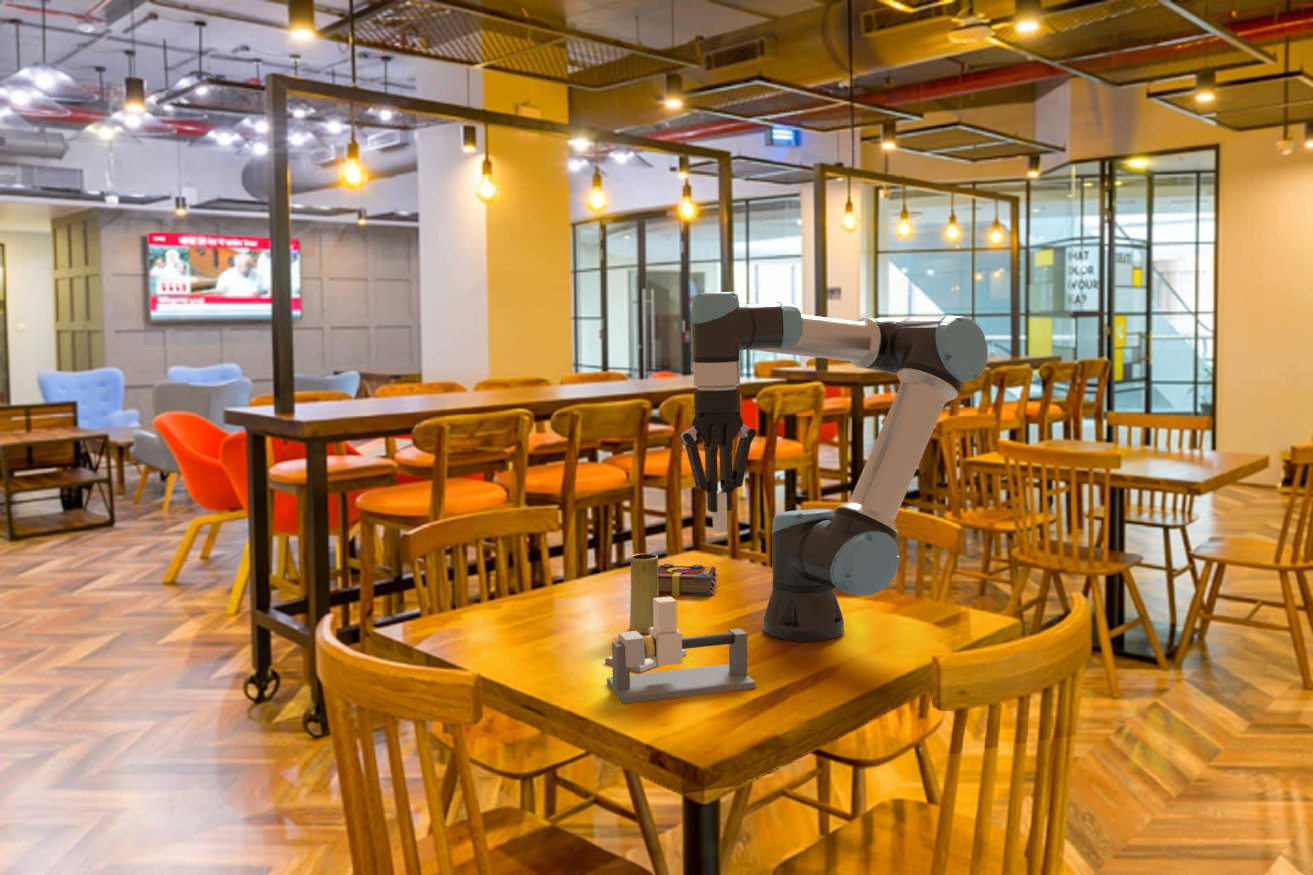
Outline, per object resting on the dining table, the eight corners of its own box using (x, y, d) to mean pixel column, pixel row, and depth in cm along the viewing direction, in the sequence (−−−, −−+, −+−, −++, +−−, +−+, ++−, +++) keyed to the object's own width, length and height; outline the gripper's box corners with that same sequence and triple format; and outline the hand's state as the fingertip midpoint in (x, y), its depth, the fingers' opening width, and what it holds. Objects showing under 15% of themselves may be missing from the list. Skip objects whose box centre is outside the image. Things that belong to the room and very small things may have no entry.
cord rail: (732, 669, 186) (732, 616, 185) (755, 687, 177) (755, 631, 176) (607, 683, 180) (606, 628, 179) (623, 703, 170) (622, 645, 169)
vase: (667, 628, 211) (666, 555, 209) (645, 635, 206) (644, 561, 205) (644, 623, 215) (643, 551, 213) (622, 629, 210) (621, 556, 209)
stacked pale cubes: (672, 654, 180) (672, 594, 179) (682, 663, 175) (681, 601, 174) (649, 657, 179) (648, 596, 178) (658, 665, 174) (657, 604, 173)
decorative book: (650, 583, 248) (650, 561, 248) (721, 585, 246) (721, 563, 245) (641, 595, 237) (641, 573, 237) (715, 598, 234) (715, 575, 234)
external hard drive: (605, 666, 190) (651, 649, 200) (640, 675, 185) (686, 657, 195) (604, 657, 190) (651, 640, 200) (640, 666, 185) (686, 648, 194)
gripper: (745, 384, 184) (747, 523, 187) (671, 388, 180) (675, 530, 183) (763, 387, 177) (765, 531, 180) (686, 391, 173) (690, 538, 176)
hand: (720, 530), depth 181 cm, fingers closed
